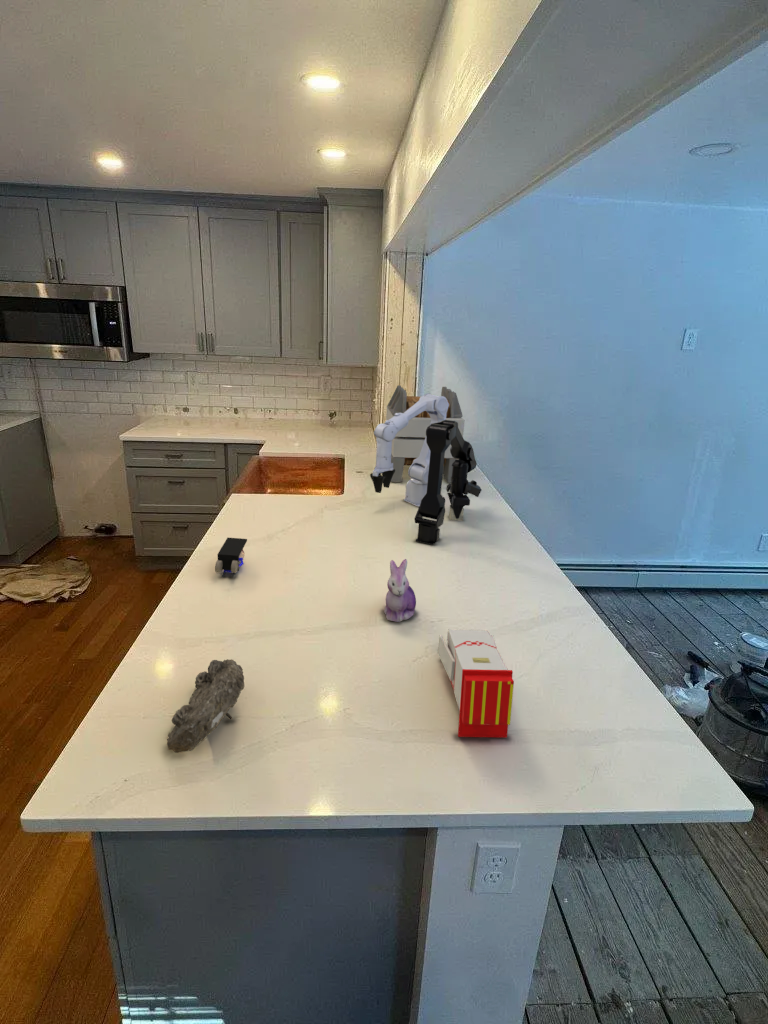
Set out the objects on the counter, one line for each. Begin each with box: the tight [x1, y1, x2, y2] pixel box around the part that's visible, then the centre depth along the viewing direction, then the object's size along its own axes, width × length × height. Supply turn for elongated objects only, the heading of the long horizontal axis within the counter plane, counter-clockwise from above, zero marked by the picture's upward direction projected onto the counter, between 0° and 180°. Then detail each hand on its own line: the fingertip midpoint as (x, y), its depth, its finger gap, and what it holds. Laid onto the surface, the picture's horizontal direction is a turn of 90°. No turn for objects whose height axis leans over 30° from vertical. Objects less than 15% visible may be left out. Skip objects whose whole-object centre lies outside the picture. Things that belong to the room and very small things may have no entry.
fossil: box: [166, 658, 245, 754], centre depth 106 cm, size 22×10×15 cm
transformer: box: [385, 384, 465, 484], centre depth 268 cm, size 34×33×41 cm
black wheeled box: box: [214, 537, 248, 578], centre depth 166 cm, size 7×8×15 cm
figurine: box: [384, 558, 417, 623], centre depth 145 cm, size 9×10×15 cm
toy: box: [437, 628, 515, 738], centre depth 117 cm, size 12×13×30 cm
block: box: [448, 504, 465, 522], centre depth 217 cm, size 5×4×5 cm
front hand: (455, 515), depth 217 cm, fingers open, 6 cm apart
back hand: (382, 489), depth 220 cm, fingers open, 7 cm apart
